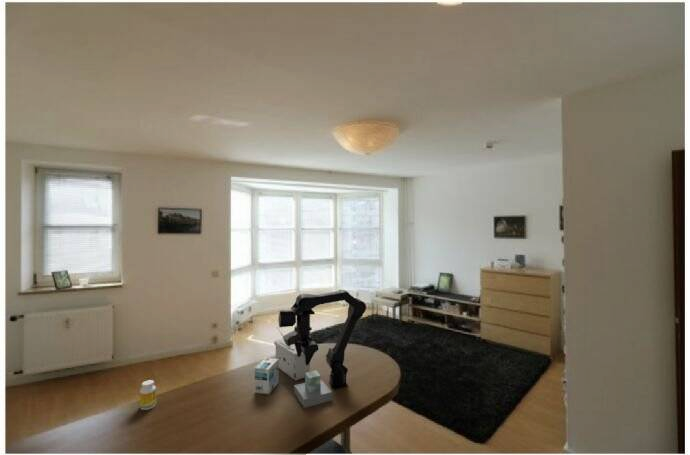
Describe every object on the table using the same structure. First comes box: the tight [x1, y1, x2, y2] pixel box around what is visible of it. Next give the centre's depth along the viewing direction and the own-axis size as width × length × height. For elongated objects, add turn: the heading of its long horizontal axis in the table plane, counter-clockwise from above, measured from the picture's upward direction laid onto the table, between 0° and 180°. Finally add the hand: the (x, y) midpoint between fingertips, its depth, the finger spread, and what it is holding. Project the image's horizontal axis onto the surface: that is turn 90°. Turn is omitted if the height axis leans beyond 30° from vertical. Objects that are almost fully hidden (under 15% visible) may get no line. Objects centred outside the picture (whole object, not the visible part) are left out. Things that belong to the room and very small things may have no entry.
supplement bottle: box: [139, 379, 157, 411], centre depth 127 cm, size 5×5×10 cm
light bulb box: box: [254, 357, 279, 395], centre depth 142 cm, size 11×7×11 cm, turn 168°
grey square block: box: [293, 379, 333, 409], centre depth 135 cm, size 12×12×4 cm
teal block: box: [304, 370, 322, 393], centre depth 135 cm, size 5×5×6 cm
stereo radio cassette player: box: [273, 326, 311, 381], centre depth 156 cm, size 21×8×20 cm, turn 40°
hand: (303, 360), depth 139 cm, fingers open, 9 cm apart
